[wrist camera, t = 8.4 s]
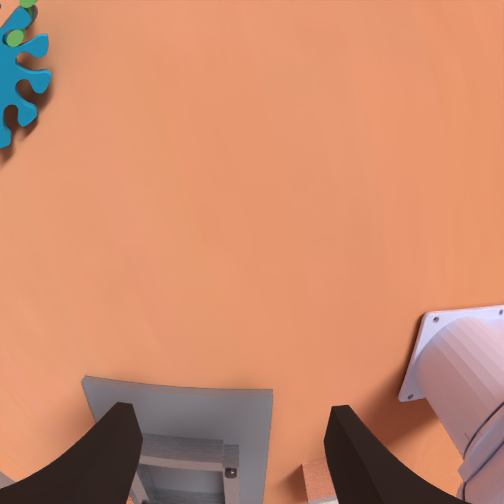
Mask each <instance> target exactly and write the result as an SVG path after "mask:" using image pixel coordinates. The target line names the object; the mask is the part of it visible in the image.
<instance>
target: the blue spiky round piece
mask: <svg viewBox="0 0 504 504" xmlns="http://www.w3.org/2000/svg"><path fill="white" fill-rule="evenodd" d="M19 2H20V6H18V7H17V8H16V9H15V10H14V12H13V13H12V14H11V15H10V17H9V18H8V19H7V20H6V22H5V23H4V24H3V25H2V27H1V28H0V148H3V147H6V146H8V145H10V143H11V137H12V133H11V130H10V129H9V128H8V127H7V125H6V122H5V118H4V111H5V107H7V106H8V105H11V104H13V105H16V106H17V108H18V122H19V124H20V125H21V126H26V125H28V124H29V123H31V122H32V121H33V120H34V119H35V118H36V117H37V111H38V110H37V107H36V105H35V104H33V103H30V102H28V101H26V100H25V99H24V98H23V97H22V96H21V95H20V93H19V91H18V88H17V85H16V84H17V82H18V81H20V80H22V79H27V80H29V81H30V83H31V86H32V88H33V90H34V91H35V92H37V93H43V92H44V91H45V90H46V88H47V87H48V85H49V82H50V79H51V75H52V73H51V72H50V71H49V70H47V69H42V70H30V69H27V68H25V67H23V66H22V65H20V64H19V63H18V62H17V55H18V54H19V53H21V52H28V53H30V54H31V55H33V56H34V57H43V56H45V55H46V54H47V51H48V34H40V35H37V36H36V37H35V38H33V39H32V40H30V41H28V42H25V43H21V42H22V41H23V39H24V37H25V35H26V30H27V29H28V28H29V26H30V25H31V24H32V23H33V22H34V21H35V19H36V17H37V15H38V8H37V6H36V5H35V3H36V2H37V0H20V1H19ZM0 8H1V4H0ZM20 43H21V44H20Z"/></svg>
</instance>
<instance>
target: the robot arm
mask: <svg viewBox="0 0 504 504" xmlns="http://www.w3.org/2000/svg"><path fill="white" fill-rule="evenodd" d="M435 317H436V319H435V320H434V321H433V319H434V318H435ZM409 395H410V396H409ZM422 398H426V399H427V401H428V402H429V404H430V406H431V407H432V409H433V410H434V412H435V413H436V415H437V417H438V418H439V420H440V422H441V423H442V425H443V426H444V428H445V430H446V431H447V433H448V435H449V436H450V438H451V440H452V441H453V443H454V445H455V446H456V448H457V450H458V451H459V453H460V455H461V456H462V458H463V460H464V462H463V464H462V465H461V466H460V468H459V469H458V472H459V474H460V476H461V477H462V479H463V482H462V483H461V485H460V487H459V489H458V491H457V495H456V497H454V496H452V495H450V494H448V493H446V492H444V491H442V490H440V489H439V488H437V487H435V486H434V485H432V484H430V483H428V482H427V481H425V480H424V479H422V478H421V477H419V476H418V475H417V474H415V473H414V472H413V471H411V470H410V469H409V468H408V467H406V466H405V465H404V464H403V463H402V462H400V461H399V460H398V459H397V458H396V457H395V456H394V455H393V454H392V453H391V452H390V451H389V450H388V449H387V448H386V447H385V446H384V445H383V444H382V443H381V442H380V441H379V440H378V439H377V438H376V437H375V436H374V435H373V434H372V433H371V431H370V430H369V429H368V428H367V427H366V426H365V424H364V423H363V422H362V421H361V420H360V418H359V417H358V416H357V415H356V413H355V412H354V411H353V410H352V408H351V407H350V406H349V405H342V406H332V408H331V413H330V417H329V421H328V426H327V430H326V434H325V438H324V446H325V454H326V460H327V465H328V469H329V472H330V476H331V479H332V483H333V486H334V489H335V493H336V496H337V500H338V503H339V504H504V305H496V306H487V307H478V308H468V309H458V310H446V311H434V312H427V313H426V314H425V315H424V316H423V318H422V322H421V326H420V329H419V333H418V336H417V340H416V343H415V347H414V350H413V353H412V357H411V360H410V363H409V366H408V369H407V372H406V375H405V378H404V381H403V384H402V387H401V390H400V392H399V395H398V399H399V401H400V402H406V401H412V400H417V399H422ZM142 443H143V436H142V433H141V430H140V427H139V424H138V421H137V418H136V414H135V411H134V408H133V404H131V403H123V402H117V403H115V404H114V405H113V406H112V407H111V409H110V410H109V411H108V412H107V413H106V414H105V415H104V416H103V417H102V418H101V419H100V420H99V421H98V422H97V423H96V424H95V425H94V426H93V427H92V428H91V429H90V430H89V431H88V432H87V433H86V434H85V435H84V436H83V437H82V438H81V439H80V440H79V441H78V442H76V443H75V444H74V445H73V446H72V447H71V448H70V449H68V450H67V451H66V452H65V453H64V454H62V455H61V456H60V457H59V458H57V459H56V460H55V461H53V462H52V463H50V464H49V465H47V466H46V467H44V468H43V469H41V470H39V471H38V472H36V473H34V474H32V475H31V476H29V477H27V478H25V479H23V480H21V481H19V482H16V483H14V484H12V485H9V486H7V487H4V488H1V489H0V504H126V501H127V498H128V495H129V492H130V489H131V486H132V482H133V479H134V476H135V473H136V470H137V467H138V463H139V460H140V454H141V449H142Z"/></svg>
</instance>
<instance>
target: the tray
mask: <svg viewBox="0 0 504 504" xmlns="http://www.w3.org/2000/svg"><path fill="white" fill-rule="evenodd" d="M81 383H82V386H83V389H84V392H85V394H86V397H87V400H88V403H89V405H90V408H91V411H92V413H93V416H94V419H95V421H96V423H97V422H98V421H99V420H100V419H101V418H102V417H103V416H104V415H105V414H106V413H107V412H108V411H109V410H110V409H111V407H112V406H113V405H114V404H115V403H117V402H123V403H131V404H133V408H134V411H135V414H136V418H137V421H138V424H139V427H140V430H141V433H142V436H143V443H142V449H141V454H140V460H139V463H138V467H137V470H136V473H135V476H134V479H133V482H132V486H131V489H130V492H129V494H130V496H131V498H132V500H133V501H134V503H135V504H263V495H264V486H265V477H266V468H267V458H268V449H269V438H270V428H271V417H272V406H273V390H238V389H206V388H188V387H174V386H162V385H151V384H142V383H133V382H125V381H117V380H110V379H103V378H96V377H90V376H85V377H84V378H83V380H82V382H81Z"/></svg>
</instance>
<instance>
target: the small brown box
mask: <svg viewBox="0 0 504 504" xmlns="http://www.w3.org/2000/svg"><path fill="white" fill-rule="evenodd" d="M302 467H303V473H304V479H305V485H306V491H307V497H308V502H309V504H339V503H338V500H337V496H336V493H335V489H334V486H333V483H332V479H331V476H330V472H329V469H328V465H327V460H326V458H325V459H321V460H317V461H312V462H308V463H303V464H302Z"/></svg>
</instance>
